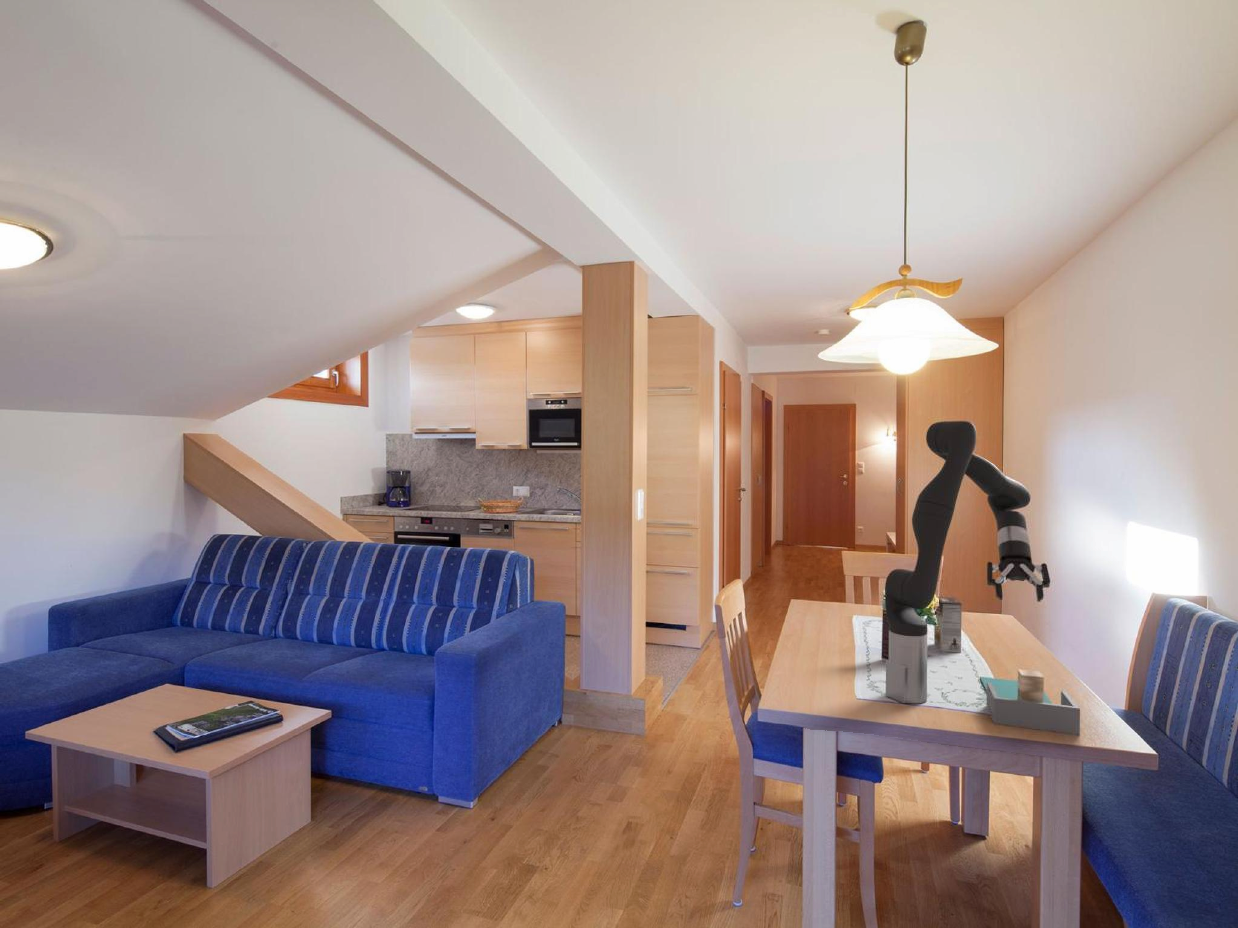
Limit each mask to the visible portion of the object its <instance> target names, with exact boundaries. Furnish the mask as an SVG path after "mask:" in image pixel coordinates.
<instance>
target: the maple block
mask: <svg viewBox="0 0 1238 928" xmlns="http://www.w3.org/2000/svg"><path fill="white" fill-rule="evenodd" d="M1044 679H1045V678H1044V676H1043V674H1042V673H1041V671H1037V670H1027V669H1017V681H1018V700H1024V701H1033V702H1041V703H1043V693H1045V690H1044V688H1045V687H1044V685H1045V684H1044V682H1045V681H1044Z"/></svg>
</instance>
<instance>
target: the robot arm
mask: <svg viewBox="0 0 1238 928" xmlns="http://www.w3.org/2000/svg"><path fill="white" fill-rule="evenodd" d="M977 433H978V432H977V429H976V426H975V424H973V423H972V422H971V421H967V420H952V421H949V420H948V421H945V420H944V421H937V422H934V423H932V424H931V425H930V426H929V427H928V428H927V431H926V436H925V439H926V444H927V447H928V448H929V450H930V451H931V452H932V453H933V454H935V455H936V456H938V457H939V458H941V459H943V460H944V464H943V466H942V467H941V469H940V471H939V472H938V473H937V474H936V475H935V476H934V477H933V478H932V480H931V481H929V483H928V484H927V485H926V486H925V487H924V488H923V489H922V490H921V491H920V493H918V494H919V495H918V496H917V499H916V502H915V506H914V509H913V513H912V517H911V524H912V530H913V534H914V537H915V541H916V545H917V560H916V563H915V567H914V569H913V570H910V569H903V568H895V569H893V570H892V571H890V572H889V573H888V575H887V576H886V577H887V578H886V579H885V580H886V581H885V586H884V598H885V599H884V601H885V603H884V604H885V609H886V618H887V621H888V624H889V659H888V660H886V662H885V696H886V697H888V698H891V699H892V700H895V701H898V702H900V703H902V704H923V703H926V702H927V701H928V624H927V622H926V621H925V620H924V619H923V618H922V617H920V616H919V615H918V614H917V613H916V610H915V609H917V610H925V609H926V608H928V607H929V606H930V605H931V604H932V602H933V600H934V599H935V594H936V592H937V586H938V581H939V574H940V569H941V562H942V556H943V552H944V549H945V543H946V541H947V536H948V532H949V529H950V526H951V523H952V520H953V516H954V513H955V508H956V503H957V500H958V497H959V492H960V489H961V485H962V482H963V479H964V477H965V476H967V477H968V479H970V480H971V481H972V482H973V483H974V484H976V486H977V487H978V488H979V489H980V490H981V491H982V492H983V493H984V494H986V495H987V498H986V499H987V503H988V505H989V507H990V509H991V511H992V513H993V516H994V518H995V521H996V527H997V548H998V549H997V550H998V559H999V563H998V564H997V563H993V562H991V561H988V562H987V564H986V566H987V567H986V584H987V585H988V586H993V587H994V588H995V590H994V591H995V597H996V598H998V600H999V601H1003V599H1004V598H1003V588H1002V587H1003V584H1005V583H1006V582H1007V581H1008V580H1010V581H1012V582H1014V581H1020V582H1024V581H1026V582H1028V583H1029V584H1030V585H1032V586H1034V588H1035V593H1036V594H1035V595H1036V601H1037V603H1039V602H1041V601H1043V600H1044V588H1046V589H1048V588H1050V586H1051V578H1050V574H1049V570H1048V565H1047V563H1045V562H1043V563H1041V564H1038V565H1035V564H1034V563H1033V558H1032V551H1031V544H1030V543H1031V542H1030V537H1029V535H1028V531H1027V530H1028V529H1027V522H1026V517H1025V515H1024V514H1023V513H1021V512H1020V511H1016V510H1020V509H1023V508H1026V507H1027V506H1028V505H1029V504H1030V502H1031V494H1030V491H1029V490H1028V489H1027V487H1025V485H1023V484H1022V483H1020V482H1019V481H1017V480H1015V479H1012V478H1010V477H1009V476H1007V475H1005V474H1004V473H1003V472H1002V470H1000V469H999V468H998V467H997V466H996V465H995V464H994V463H992V462H991V461H990V460H987V459H986V458H984V457H983V456H980V455H978V454H976V453H974V451H975V448H976V445H977V439H978V434H977ZM997 570H998V571H999V572H1000V574H999V576H998V577H997V578H996V579H995V578H993V573H995V572H996V571H997ZM1035 571H1037V572H1038V574H1040V575H1041V577H1042V578H1041V579H1042V580H1040V578H1038V577H1037V575H1036V574H1035V573H1034V572H1035Z"/></svg>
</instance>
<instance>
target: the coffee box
mask: <svg viewBox="0 0 1238 928" xmlns="http://www.w3.org/2000/svg"><path fill="white" fill-rule="evenodd" d="M937 597H938V598H939V606H938V607H937V609H936V611H935V612H934V611H933V612H934V613H935V615H936V618H937V621H938V626H934V625H933V626H934V627H933V630H934V631H933V633H934V634H933V635H934V636H933V637H934V640H933V641H934V642H933V643H934V645H935V647H936V648H938V650H939V651H940V652H943V653H944V652H945V653H948V652H949V653H962V615H963V612H962V611H963V606H962V605H963V604H962V603H961V602H960V601H959V600H958V599H957V598H955V597H947V596H945V597H943V596H937Z"/></svg>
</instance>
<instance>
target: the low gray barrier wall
mask: <svg viewBox="0 0 1238 928" xmlns="http://www.w3.org/2000/svg"><path fill="white" fill-rule="evenodd" d="M986 705H987V706H986V708H987V707H988V708H987V710H988V712H990V713H989V714H990V717H991V719H992V721H993V723H994V725H995V724H996V725H1002V726H1010V727H1017V728H1023V729H1024V728H1026V729H1033V730H1039V731H1048V732H1054V731H1055V733H1060V734H1061V733H1064V734H1068V735H1069V734H1070V735H1076V734H1079V735H1078V736H1080V735H1081V708H1080V707H1079V705H1078V704H1077V703H1076V702H1075V700H1074V699H1073V698H1072V696H1071V695H1070V694H1069V693H1068V692H1067V690H1060V704H1057V703H1052V704H1050V703H1041V702H1033V701H1024V700H1017V699H1009V698H1000V697H998V695H997V693H996V691H995V689H994V687H993V685H992V683H990V682H987V692H986Z"/></svg>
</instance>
